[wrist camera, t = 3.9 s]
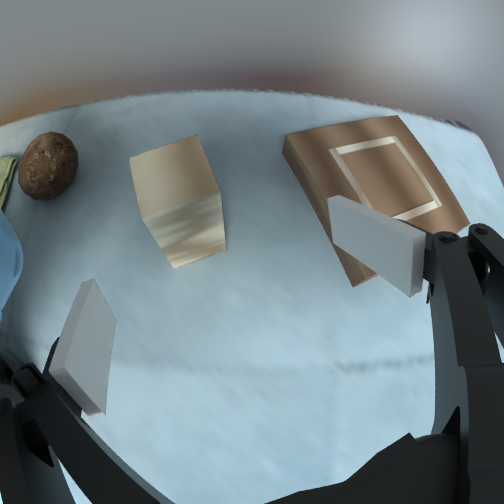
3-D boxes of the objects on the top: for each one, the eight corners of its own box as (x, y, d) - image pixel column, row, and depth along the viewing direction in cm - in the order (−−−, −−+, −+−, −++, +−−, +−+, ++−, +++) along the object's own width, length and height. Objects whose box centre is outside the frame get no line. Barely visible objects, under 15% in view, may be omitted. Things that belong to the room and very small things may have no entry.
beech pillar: (174, 269, 26) (141, 218, 17) (160, 222, 27) (128, 158, 18) (226, 250, 27) (220, 190, 17) (208, 205, 28) (197, 134, 19)
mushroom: (28, 141, 27) (15, 129, 22) (83, 138, 31) (79, 124, 25) (24, 203, 28) (10, 201, 23) (79, 199, 32) (74, 197, 27)
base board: (352, 287, 26) (366, 277, 23) (282, 152, 31) (286, 133, 28) (455, 234, 29) (471, 222, 26) (389, 130, 34) (398, 114, 31)
